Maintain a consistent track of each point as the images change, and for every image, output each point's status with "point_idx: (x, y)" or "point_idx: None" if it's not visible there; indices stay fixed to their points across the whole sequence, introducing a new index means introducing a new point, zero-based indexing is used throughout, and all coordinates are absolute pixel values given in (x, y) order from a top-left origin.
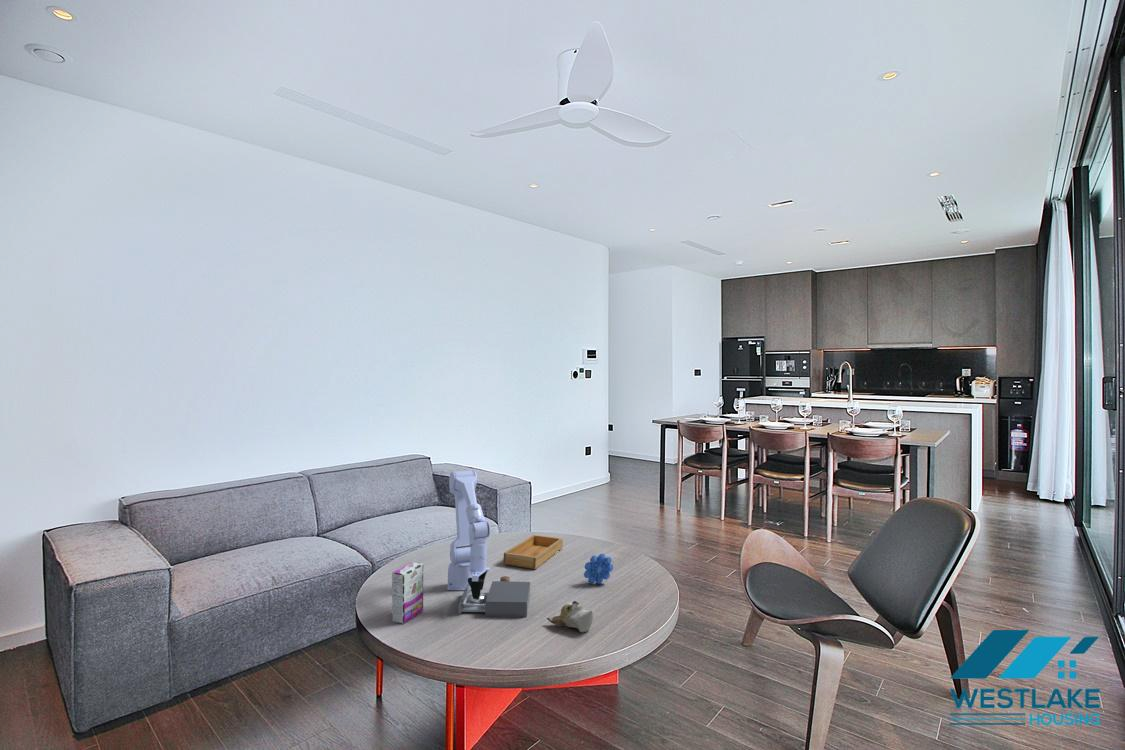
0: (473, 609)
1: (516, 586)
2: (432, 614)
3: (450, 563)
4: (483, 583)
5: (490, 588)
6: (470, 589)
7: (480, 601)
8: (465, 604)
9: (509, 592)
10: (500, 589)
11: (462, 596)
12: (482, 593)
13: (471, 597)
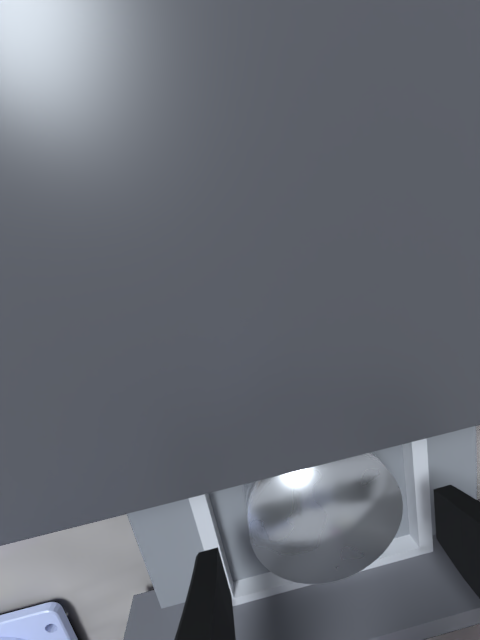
0: (473, 446)
1: (6, 46)
2: (473, 626)
3: None
4: (209, 637)
5: (249, 477)
6: (59, 618)
7: (373, 453)
8: (431, 535)
9: (345, 120)
10: (247, 325)
11: (428, 632)
12: (262, 506)
13: (376, 555)
